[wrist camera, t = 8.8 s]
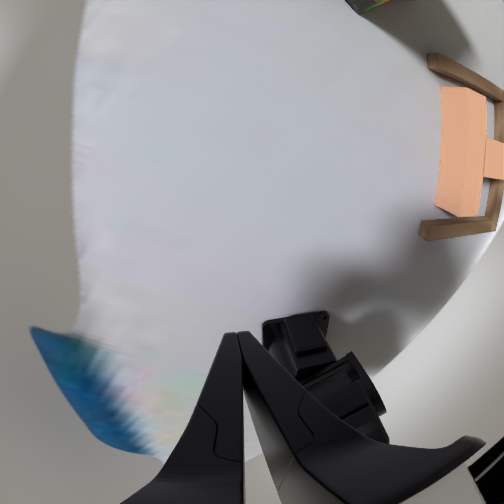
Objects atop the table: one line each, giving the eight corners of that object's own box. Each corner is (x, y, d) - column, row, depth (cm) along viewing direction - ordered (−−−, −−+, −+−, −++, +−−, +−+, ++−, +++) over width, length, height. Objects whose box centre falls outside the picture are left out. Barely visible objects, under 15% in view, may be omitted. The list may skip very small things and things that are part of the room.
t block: (484, 204, 24) (504, 214, 21) (434, 204, 23) (458, 217, 19) (491, 109, 19) (513, 113, 15) (440, 86, 17) (467, 87, 14)
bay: (487, 226, 25) (495, 230, 24) (418, 234, 24) (428, 240, 22) (498, 92, 17) (507, 93, 16) (426, 54, 16) (437, 53, 14)
